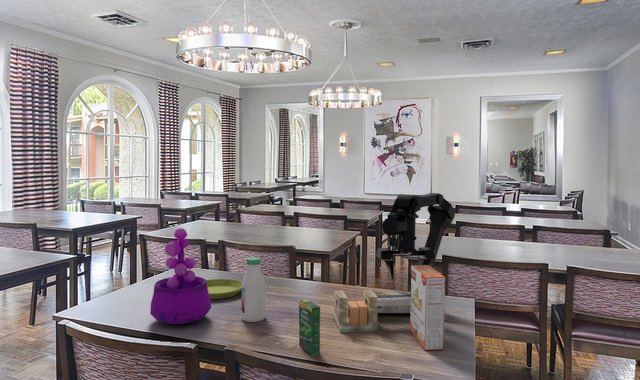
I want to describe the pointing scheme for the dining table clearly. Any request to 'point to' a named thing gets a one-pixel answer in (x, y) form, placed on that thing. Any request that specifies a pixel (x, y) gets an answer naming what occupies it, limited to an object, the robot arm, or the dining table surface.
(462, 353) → the dining table surface
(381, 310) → the coffee box
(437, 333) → the cracker box
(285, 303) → the dining table surface
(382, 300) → the shaft
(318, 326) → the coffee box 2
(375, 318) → the frame
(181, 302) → the decorative plant
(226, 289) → the saucer
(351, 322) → the block
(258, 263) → the milk bottle
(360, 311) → the block
